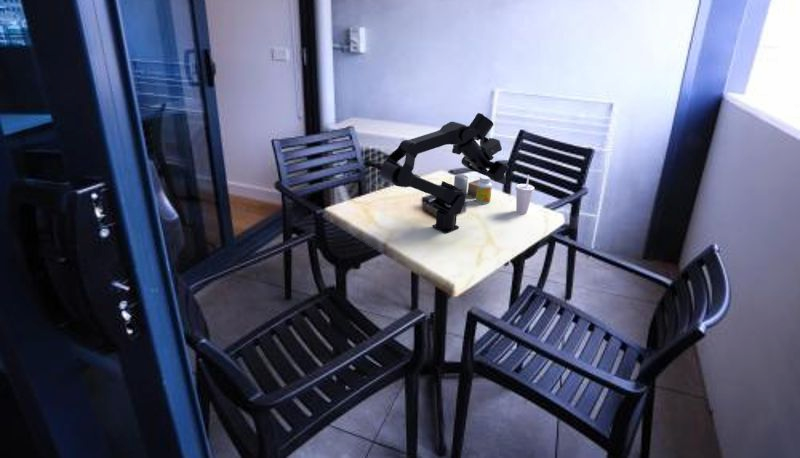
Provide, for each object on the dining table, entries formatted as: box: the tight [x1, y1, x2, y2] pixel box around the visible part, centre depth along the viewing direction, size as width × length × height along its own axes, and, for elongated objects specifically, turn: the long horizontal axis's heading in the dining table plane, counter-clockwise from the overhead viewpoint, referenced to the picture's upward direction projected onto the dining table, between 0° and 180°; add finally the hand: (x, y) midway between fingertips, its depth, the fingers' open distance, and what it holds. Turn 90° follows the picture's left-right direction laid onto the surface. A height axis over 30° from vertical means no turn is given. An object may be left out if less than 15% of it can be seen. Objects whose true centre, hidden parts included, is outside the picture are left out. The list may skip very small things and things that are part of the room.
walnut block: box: [467, 179, 480, 199], centre depth 183 cm, size 6×5×5 cm
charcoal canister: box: [453, 174, 469, 199], centre depth 180 cm, size 5×5×8 cm
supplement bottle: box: [475, 175, 493, 205], centre depth 176 cm, size 5×5×10 cm
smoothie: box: [515, 174, 535, 215], centre depth 166 cm, size 6×6×14 cm
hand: (496, 179), depth 160 cm, fingers open, 9 cm apart
